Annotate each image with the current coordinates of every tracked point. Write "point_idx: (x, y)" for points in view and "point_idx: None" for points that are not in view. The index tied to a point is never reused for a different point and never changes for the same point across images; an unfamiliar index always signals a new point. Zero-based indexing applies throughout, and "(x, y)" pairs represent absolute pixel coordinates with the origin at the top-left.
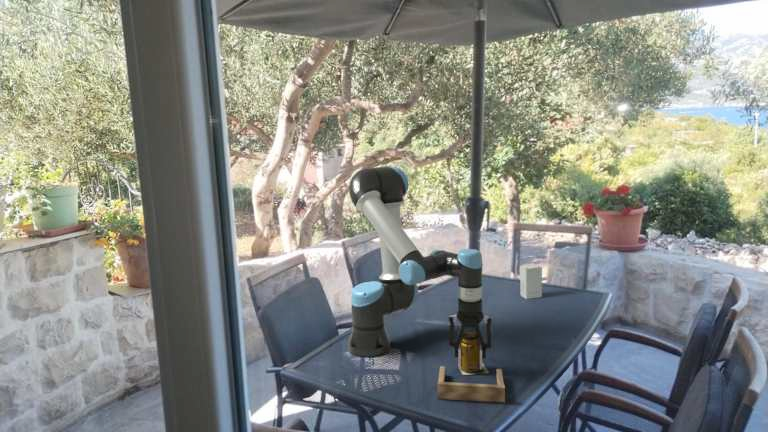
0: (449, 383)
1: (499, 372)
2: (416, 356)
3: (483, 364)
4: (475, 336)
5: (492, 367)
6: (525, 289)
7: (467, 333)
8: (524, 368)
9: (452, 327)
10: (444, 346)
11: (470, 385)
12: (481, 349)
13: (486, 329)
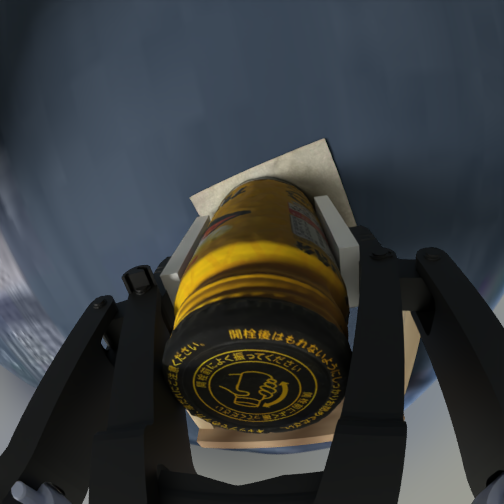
0: (234, 444)
1: (413, 323)
2: (17, 178)
3: (330, 153)
4: (323, 415)
5: (377, 172)
6: None
7: (215, 368)
8: (496, 160)
9: (82, 466)
10: (78, 19)
11: (300, 444)
12: (355, 297)
13: (473, 393)
